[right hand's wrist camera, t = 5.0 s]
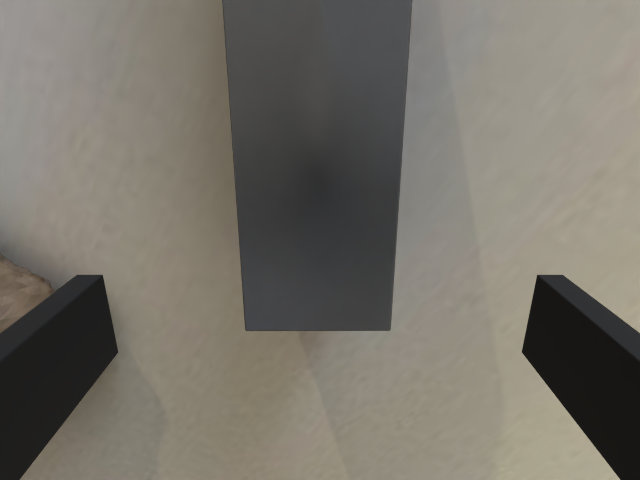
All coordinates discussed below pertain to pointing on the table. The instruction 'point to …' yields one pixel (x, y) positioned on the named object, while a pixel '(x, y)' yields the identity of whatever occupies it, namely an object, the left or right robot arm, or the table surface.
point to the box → (317, 158)
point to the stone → (19, 292)
